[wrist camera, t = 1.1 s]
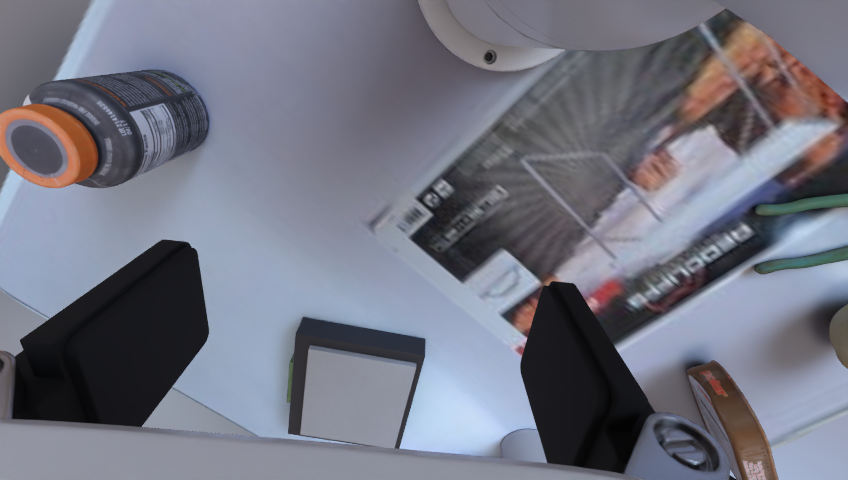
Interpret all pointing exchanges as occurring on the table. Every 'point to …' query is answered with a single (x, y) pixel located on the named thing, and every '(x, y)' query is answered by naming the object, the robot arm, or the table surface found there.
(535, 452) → the grey hollow cylinder
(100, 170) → the pill bottle
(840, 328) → the potato
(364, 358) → the scale
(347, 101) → the table surface
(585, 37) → the robot arm
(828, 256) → the pliers
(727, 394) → the tin
